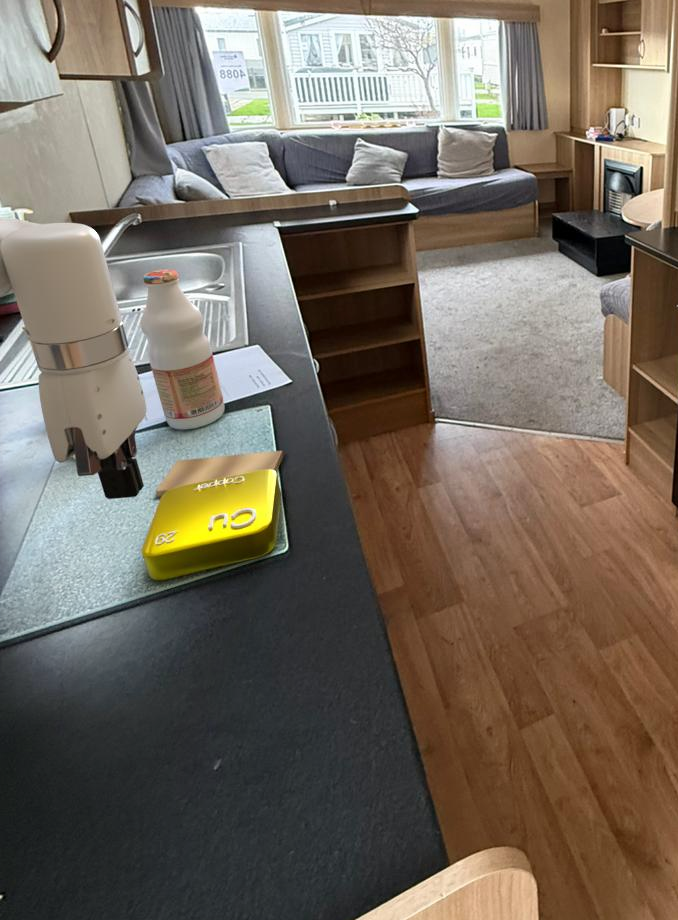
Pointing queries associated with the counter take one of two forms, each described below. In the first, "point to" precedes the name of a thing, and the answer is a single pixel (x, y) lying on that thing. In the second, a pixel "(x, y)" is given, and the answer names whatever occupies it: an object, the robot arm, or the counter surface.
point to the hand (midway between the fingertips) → (125, 493)
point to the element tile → (213, 524)
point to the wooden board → (217, 468)
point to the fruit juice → (180, 354)
